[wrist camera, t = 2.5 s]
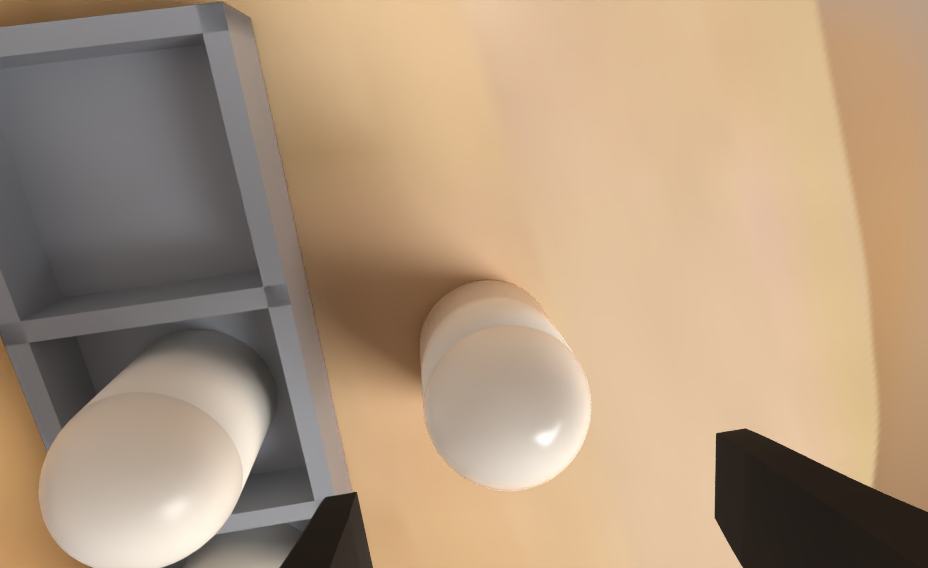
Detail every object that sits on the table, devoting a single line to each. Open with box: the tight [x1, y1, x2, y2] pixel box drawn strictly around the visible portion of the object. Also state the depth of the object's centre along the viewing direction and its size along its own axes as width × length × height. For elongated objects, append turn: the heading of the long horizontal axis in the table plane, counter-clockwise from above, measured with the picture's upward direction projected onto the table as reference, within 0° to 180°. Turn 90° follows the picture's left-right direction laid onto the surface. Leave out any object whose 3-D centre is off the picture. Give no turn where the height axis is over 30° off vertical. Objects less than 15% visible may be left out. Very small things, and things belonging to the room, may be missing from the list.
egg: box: [420, 280, 591, 491], centre depth 16 cm, size 4×4×6 cm
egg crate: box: [0, 2, 352, 568], centre depth 15 cm, size 7×21×7 cm, turn 7°
